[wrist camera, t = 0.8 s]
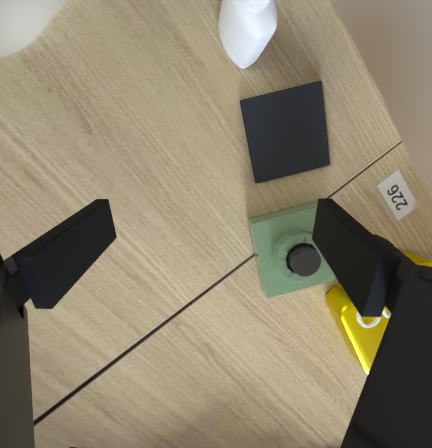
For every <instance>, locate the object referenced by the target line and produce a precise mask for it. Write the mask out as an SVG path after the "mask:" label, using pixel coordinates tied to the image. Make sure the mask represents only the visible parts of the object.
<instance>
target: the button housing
mask: <svg viewBox="0 0 432 448" xmlns="http://www.w3.org/2000/svg"><path fill="white" fill-rule="evenodd" d="M317 204H318V201H316V202H312V203H308V204H304V205H300V206H296V207H292V208H288V209H284V210H280V211H277V212H273V213H269V214H265V215H261V216H257V217H253V218H249V219H247V220H248V225H249V230H250V235H251V240H252V244H253V249H254V254H255V259H256V264H257V269H258V273H259V278H260V283H261V288H262V290H263V292H264V294H265V296H266V298H270V297H274V296H278V295H282V294H285V293H289V292H293V291H297V290H300V289H304V288H308V287H312V286H316V285H319V284H323V283H327V282H331V281H334V280H336V276H335V275H334V273H333V271H332V270H331V268H330V267H329V265H328V264H327V262H326V260H325V259H324V257H323V256H322V254H321V252H320V251H319V249H318V248H317V246H316V245H315V243H314V241H313V240H312V234H313V228H314V222H315V216H316V210H317ZM300 244H305V245H308V246H310V247H311V248H313V249H314V250H315V251H317V252H318V253H319V255H320V257H321V265H320V267H319V269H318V270H317V272H315V273H314V274H313V275H310V276H306V277H303V276H299V275H297V274H296V273H295V272H294V271H293V270H292V269H291V268H290V266H289V265H288V262H287V256H288V253H289V252H290V250H291V249H292V248H293V247H295V246H297V245H300Z"/></svg>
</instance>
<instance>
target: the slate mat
mask: <svg viewBox="0 0 432 448" xmlns="http://www.w3.org/2000/svg"><path fill="white" fill-rule="evenodd" d="M240 105H241V110H242V116H243V121H244V126H245V131H246V137H247V142H248V147H249V153H250V158H251V163H252V168H253V174H254V179H255V183H259V182H263V181H267V180H271V179H275V178H279V177H283V176H287V175H291V174H295V173H299V172H303V171H307V170H311V169H315V168H319V167H323V166H327V165H330V159H329V149H328V139H327V130H326V120H325V110H324V100H323V90H322V81H319V82H315V83H310V84H306V85H302V86H298V87H294V88H289V89H285V90H281V91H277V92H273V93H269V94H264V95H260V96H256V97H252V98H248V99H243V100H241V101H240Z"/></svg>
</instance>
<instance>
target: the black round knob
mask: <svg viewBox="0 0 432 448" xmlns="http://www.w3.org/2000/svg"><path fill="white" fill-rule="evenodd" d="M287 262H288V265H289V266H290V268H291V269H292V270H293V271H294V272H295V273H296V274H297V275H299V276H303V277H306V276H310V275H313V274H314V273H315V272H317V270H318V269H319V267H320V265H321V257H320V255H319V253H318V252H317V251H315V250H314V249H313V248H311V247H310V246H308V245H305V244H300V245H297V246H295V247H293V248H292V249H291V250H290V252H289V253H288V256H287Z"/></svg>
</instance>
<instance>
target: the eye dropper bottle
mask: <svg viewBox="0 0 432 448" xmlns="http://www.w3.org/2000/svg"><path fill="white" fill-rule="evenodd" d="M276 27H277V8H276V2H275V0H222V5H221V10H220V16H219V21H218V29H219V34H220V39H221V42H222V45H223V47H224V49H225V51H226V53H227V54H228V56H229V57H230V59H231V60H232V61H233V62H234V63H235V64H236V65H237V66H238V67H240V68H242V69H244V68H247V67H248V66H250V65H251V64H253V63H254V62H255V61H256V60H257V59H258V57H259V56H260V54H261V53H262V51H263V50H264V48H265V47H266V45H267V43H268V42H269V40H270V39H271V37H272V35H273V34H274V32H275V30H276Z"/></svg>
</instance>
